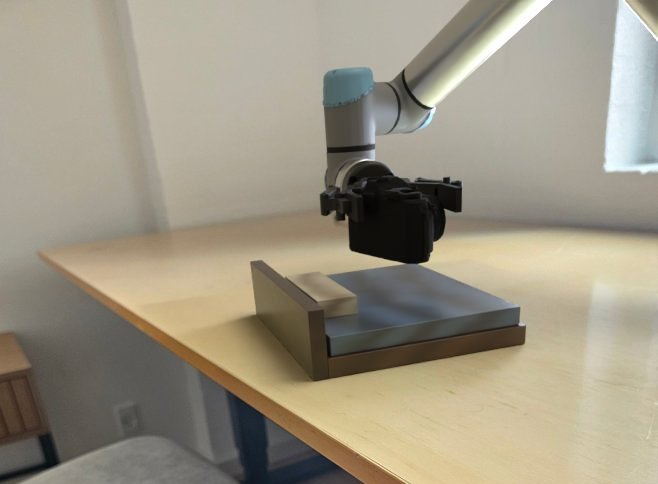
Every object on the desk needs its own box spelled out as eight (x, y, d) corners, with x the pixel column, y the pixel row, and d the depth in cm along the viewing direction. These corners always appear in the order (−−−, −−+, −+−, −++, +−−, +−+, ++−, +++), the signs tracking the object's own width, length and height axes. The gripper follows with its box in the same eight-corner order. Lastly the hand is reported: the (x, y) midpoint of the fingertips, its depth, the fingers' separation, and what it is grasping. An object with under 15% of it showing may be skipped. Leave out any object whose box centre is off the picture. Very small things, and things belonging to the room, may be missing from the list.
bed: (416, 289, 94) (416, 239, 91) (525, 343, 70) (529, 277, 67) (256, 313, 89) (249, 261, 86) (313, 381, 65) (307, 311, 61)
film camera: (475, 253, 78) (478, 171, 74) (408, 267, 74) (408, 181, 70) (399, 239, 90) (398, 168, 85) (339, 250, 86) (335, 176, 81)
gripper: (443, 207, 98) (504, 228, 79) (288, 223, 95) (312, 248, 76) (444, 153, 94) (508, 160, 75) (283, 167, 92) (307, 179, 72)
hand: (410, 204), depth 75 cm, fingers closed on film camera, 11 cm apart
